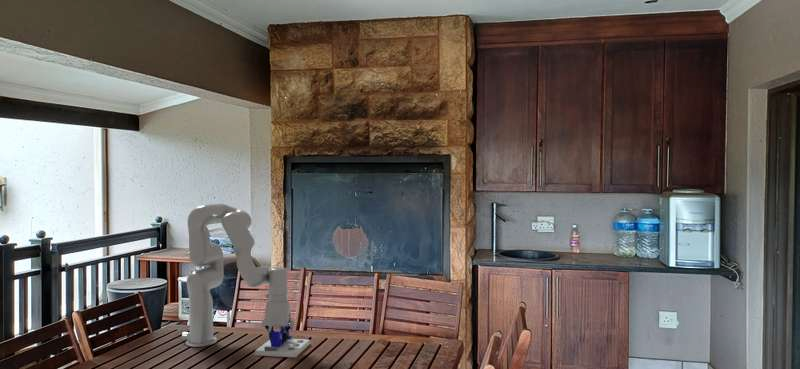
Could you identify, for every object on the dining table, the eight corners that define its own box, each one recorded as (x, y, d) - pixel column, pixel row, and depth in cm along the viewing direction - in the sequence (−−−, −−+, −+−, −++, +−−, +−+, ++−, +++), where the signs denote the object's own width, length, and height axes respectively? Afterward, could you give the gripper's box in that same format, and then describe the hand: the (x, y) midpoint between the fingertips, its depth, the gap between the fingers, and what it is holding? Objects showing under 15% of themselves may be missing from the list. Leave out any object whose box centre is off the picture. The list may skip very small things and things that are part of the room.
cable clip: (278, 338, 230) (278, 324, 230) (289, 338, 229) (288, 324, 229) (267, 347, 218) (267, 332, 218) (277, 347, 218) (277, 332, 217)
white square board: (255, 355, 216) (255, 346, 216) (271, 342, 233) (271, 334, 233) (295, 357, 213) (295, 348, 213) (309, 344, 230) (309, 336, 230)
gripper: (254, 298, 221) (255, 343, 221) (294, 300, 218) (294, 345, 218) (262, 294, 228) (262, 337, 229) (300, 296, 226) (300, 339, 226)
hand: (278, 341), depth 223 cm, fingers closed on cable clip, 4 cm apart
